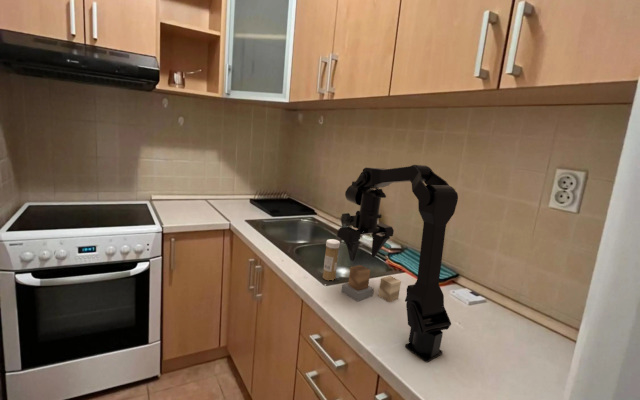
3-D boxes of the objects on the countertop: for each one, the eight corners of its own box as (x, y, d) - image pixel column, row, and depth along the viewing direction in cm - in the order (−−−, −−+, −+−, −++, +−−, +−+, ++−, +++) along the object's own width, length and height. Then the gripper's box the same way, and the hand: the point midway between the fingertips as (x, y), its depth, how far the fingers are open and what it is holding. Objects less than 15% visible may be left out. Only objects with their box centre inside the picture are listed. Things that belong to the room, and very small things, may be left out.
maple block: (398, 299, 108) (401, 281, 107) (388, 302, 105) (391, 283, 104) (387, 292, 111) (390, 275, 110) (378, 295, 108) (380, 278, 107)
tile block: (372, 297, 108) (373, 288, 107) (357, 302, 103) (358, 293, 103) (356, 288, 113) (357, 279, 112) (341, 293, 108) (342, 284, 108)
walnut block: (368, 288, 107) (370, 270, 106) (357, 290, 104) (360, 272, 103) (358, 282, 110) (360, 264, 109) (348, 284, 108) (350, 267, 107)
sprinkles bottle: (338, 279, 117) (342, 242, 114) (327, 282, 114) (331, 243, 112) (330, 274, 120) (334, 238, 118) (319, 276, 118) (323, 239, 115)
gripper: (372, 202, 114) (365, 246, 117) (328, 204, 103) (322, 253, 106) (398, 210, 106) (390, 258, 109) (353, 214, 94) (346, 267, 97)
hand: (362, 258), depth 105 cm, fingers open, 9 cm apart
